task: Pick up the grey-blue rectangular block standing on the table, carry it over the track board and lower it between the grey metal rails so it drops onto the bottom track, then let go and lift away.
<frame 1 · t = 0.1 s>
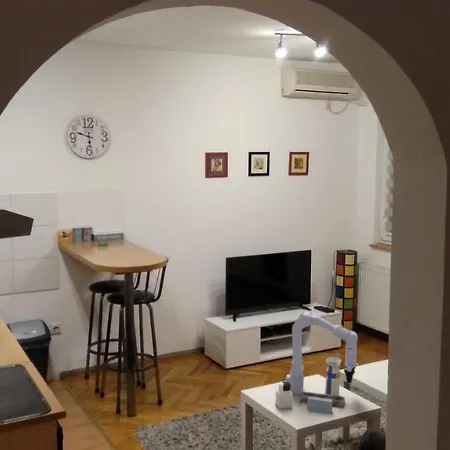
hand: (349, 380, 319), 10 cm above the table, tool pointing down, fingers open, 7 cm apart
medicine bottle: (283, 405, 310), on the table
track board: (322, 401, 315), on the table
grey-blue rectangular block: (319, 410, 305), on the table
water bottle: (332, 394, 325), on the table
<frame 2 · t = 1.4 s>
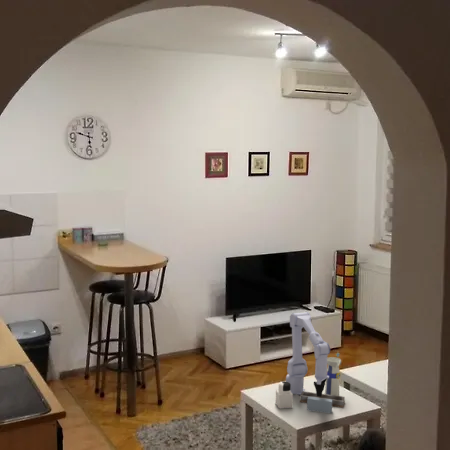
hand: (320, 393, 303), 9 cm above the table, tool pointing down, fingers open, 7 cm apart
nothing on the table moved.
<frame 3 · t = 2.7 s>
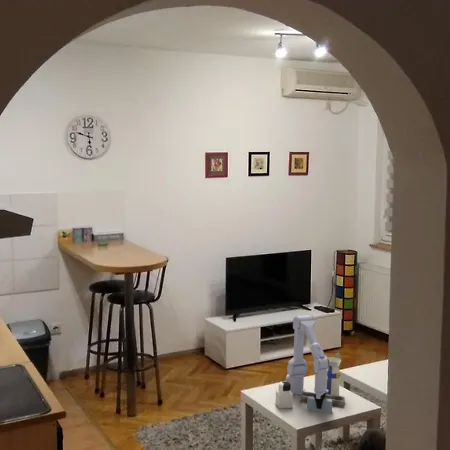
hand: (319, 407, 304), 2 cm above the table, tool pointing down, fingers closed on grey-blue rectangular block, 3 cm apart
grey-blue rectangular block: (319, 410, 305), on the table, touching gripper
everything else where it was.
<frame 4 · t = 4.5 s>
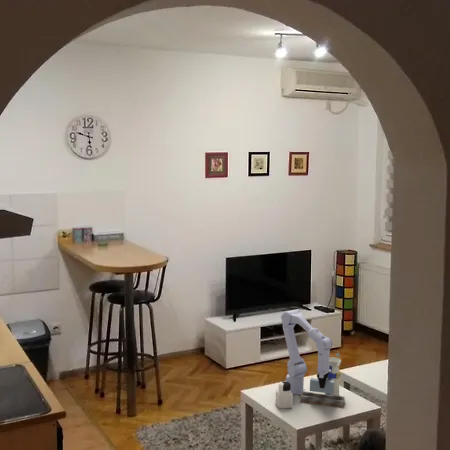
hand: (322, 386, 313), 9 cm above the table, tool pointing down, fingers closed on grey-blue rectangular block, 3 cm apart
grey-blue rectangular block: (321, 391, 313), point 6 cm above the table, touching gripper
everything else where it was.
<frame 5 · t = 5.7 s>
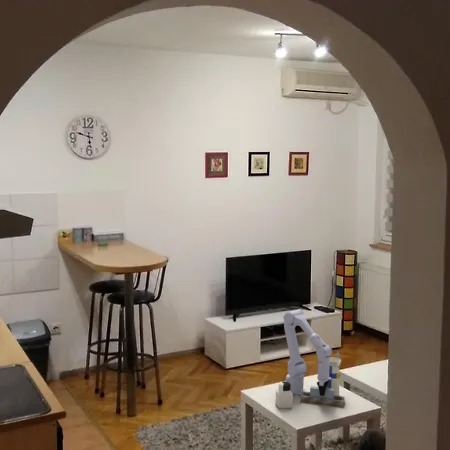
hand: (322, 394, 315), 4 cm above the table, tool pointing down, fingers closed on grey-blue rectangular block, 3 cm apart
grey-blue rectangular block: (321, 399, 315), point 1 cm above the table, touching gripper
everything else where it was.
when the fingers open (4 cm above the table, at t = 6.1 s): grey-blue rectangular block stays where it is, resting on track board.
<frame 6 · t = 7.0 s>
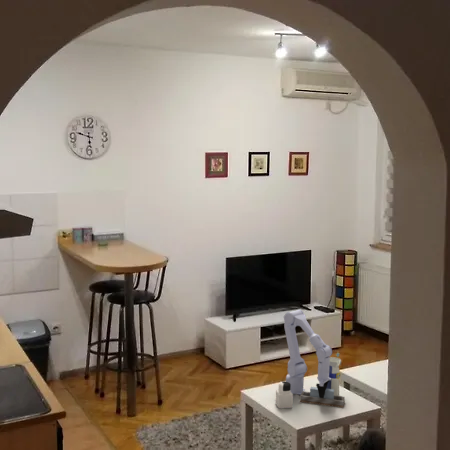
hand: (322, 394, 315), 4 cm above the table, tool pointing down, fingers open, 7 cm apart
grey-blue rectangular block: (321, 400, 315), point 1 cm above the table, touching track board
everything else where it was.
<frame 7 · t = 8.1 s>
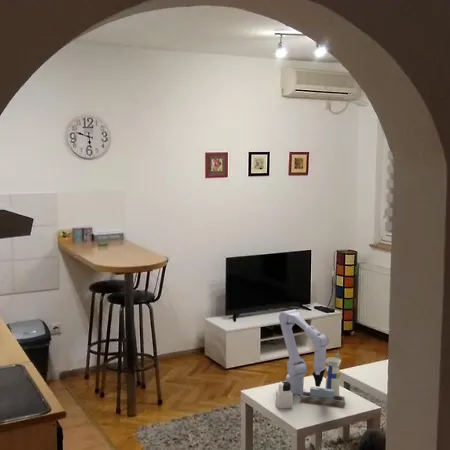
hand: (318, 383, 313), 10 cm above the table, tool pointing down, fingers open, 7 cm apart
nothing on the table moved.
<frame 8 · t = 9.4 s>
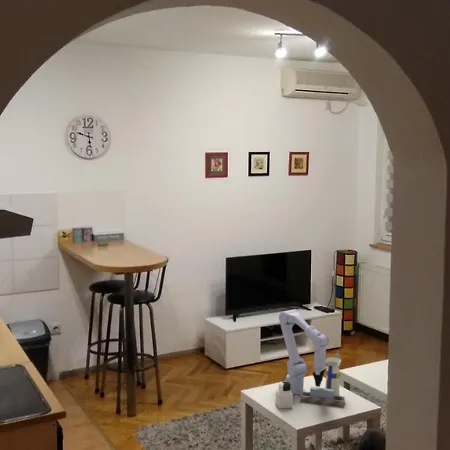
hand: (318, 383, 313), 10 cm above the table, tool pointing down, fingers open, 7 cm apart
nothing on the table moved.
at the end: grey-blue rectangular block inside the target area on the track board (0.3 cm from its centre), point 0.8 cm above the track board's base; grey-blue rectangular block tilted 0°; the gripper is holding nothing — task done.
